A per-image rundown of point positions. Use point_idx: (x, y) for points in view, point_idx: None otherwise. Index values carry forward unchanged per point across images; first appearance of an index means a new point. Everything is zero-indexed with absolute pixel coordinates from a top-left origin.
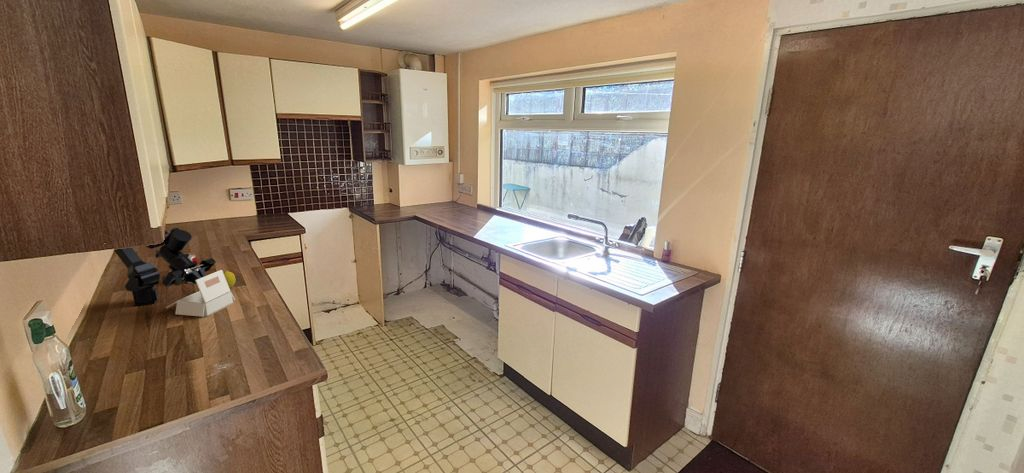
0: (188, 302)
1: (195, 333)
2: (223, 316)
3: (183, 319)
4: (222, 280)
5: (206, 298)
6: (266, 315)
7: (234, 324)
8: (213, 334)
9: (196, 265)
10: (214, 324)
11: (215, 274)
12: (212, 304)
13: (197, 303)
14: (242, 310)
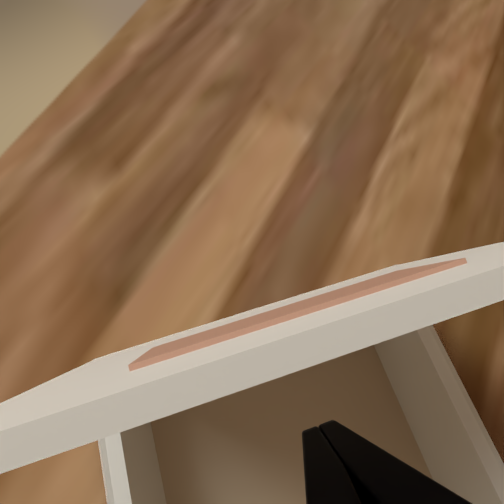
0: (492, 458)
1: (485, 149)
2: (302, 217)
3: (482, 402)
4: (92, 373)
5: (392, 268)
6: (182, 56)
7: (324, 90)
8: (431, 80)
9: None
10: (384, 165)
11: (159, 366)
12: None
13: (440, 340)
14: (191, 202)
